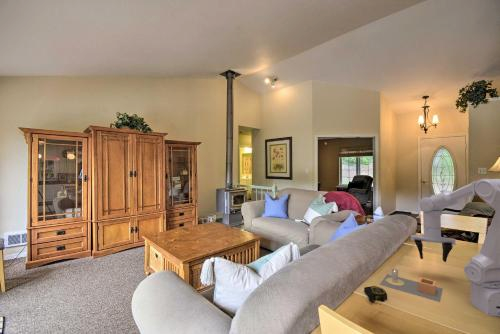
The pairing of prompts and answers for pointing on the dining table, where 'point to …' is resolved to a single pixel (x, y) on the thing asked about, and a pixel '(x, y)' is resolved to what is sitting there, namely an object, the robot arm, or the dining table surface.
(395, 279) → the steel post
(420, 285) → the collar
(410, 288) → the seat plate
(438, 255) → the dining table surface
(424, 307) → the dining table surface
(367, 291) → the tape measure
